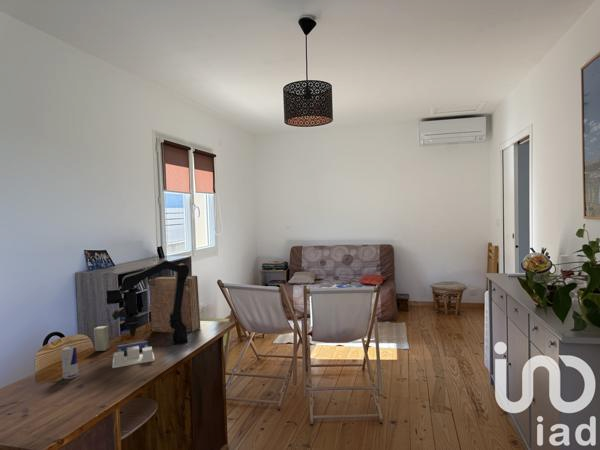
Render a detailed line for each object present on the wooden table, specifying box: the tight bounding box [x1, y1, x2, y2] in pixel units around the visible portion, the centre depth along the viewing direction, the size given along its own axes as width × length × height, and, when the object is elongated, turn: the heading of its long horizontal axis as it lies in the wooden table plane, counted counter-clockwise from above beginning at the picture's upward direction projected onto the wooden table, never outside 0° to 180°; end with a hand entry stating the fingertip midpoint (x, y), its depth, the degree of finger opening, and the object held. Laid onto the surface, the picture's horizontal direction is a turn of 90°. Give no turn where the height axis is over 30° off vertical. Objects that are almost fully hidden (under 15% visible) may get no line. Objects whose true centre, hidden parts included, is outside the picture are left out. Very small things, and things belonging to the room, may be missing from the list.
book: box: [148, 275, 201, 334], centre depth 229 cm, size 25×9×30 cm, turn 74°
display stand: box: [111, 346, 155, 369], centre depth 183 cm, size 10×17×5 cm, turn 113°
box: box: [93, 325, 111, 352], centre depth 202 cm, size 5×4×11 cm
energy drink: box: [60, 345, 79, 380], centre depth 168 cm, size 5×5×12 cm
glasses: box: [117, 340, 149, 354], centre depth 194 cm, size 10×13×4 cm
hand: (132, 334), depth 197 cm, fingers open, 9 cm apart
